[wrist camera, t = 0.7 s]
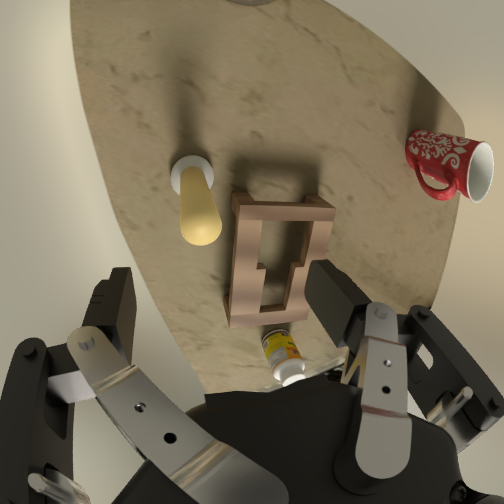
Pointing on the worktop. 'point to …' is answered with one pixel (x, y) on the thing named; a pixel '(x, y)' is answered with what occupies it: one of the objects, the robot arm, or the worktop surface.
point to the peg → (196, 200)
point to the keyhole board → (253, 274)
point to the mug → (451, 164)
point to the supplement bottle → (283, 357)
